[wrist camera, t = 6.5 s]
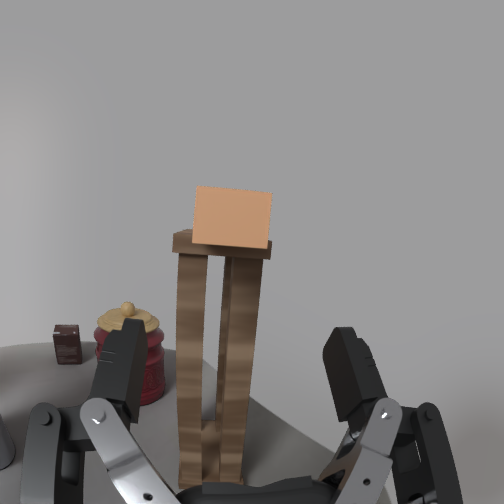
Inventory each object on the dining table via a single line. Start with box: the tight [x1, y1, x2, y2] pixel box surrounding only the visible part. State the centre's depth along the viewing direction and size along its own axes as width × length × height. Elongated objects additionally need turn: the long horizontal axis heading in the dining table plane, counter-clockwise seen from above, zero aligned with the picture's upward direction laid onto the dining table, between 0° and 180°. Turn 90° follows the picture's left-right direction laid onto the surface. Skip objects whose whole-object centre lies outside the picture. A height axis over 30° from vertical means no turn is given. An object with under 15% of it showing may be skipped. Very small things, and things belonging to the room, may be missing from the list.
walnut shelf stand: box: [172, 229, 272, 489], centre depth 31 cm, size 14×8×31 cm, turn 8°
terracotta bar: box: [192, 186, 272, 249], centre depth 25 cm, size 20×4×3 cm, turn 8°
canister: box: [94, 302, 165, 405], centre depth 46 cm, size 13×13×18 cm
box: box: [53, 325, 82, 364], centre depth 51 cm, size 6×6×7 cm
